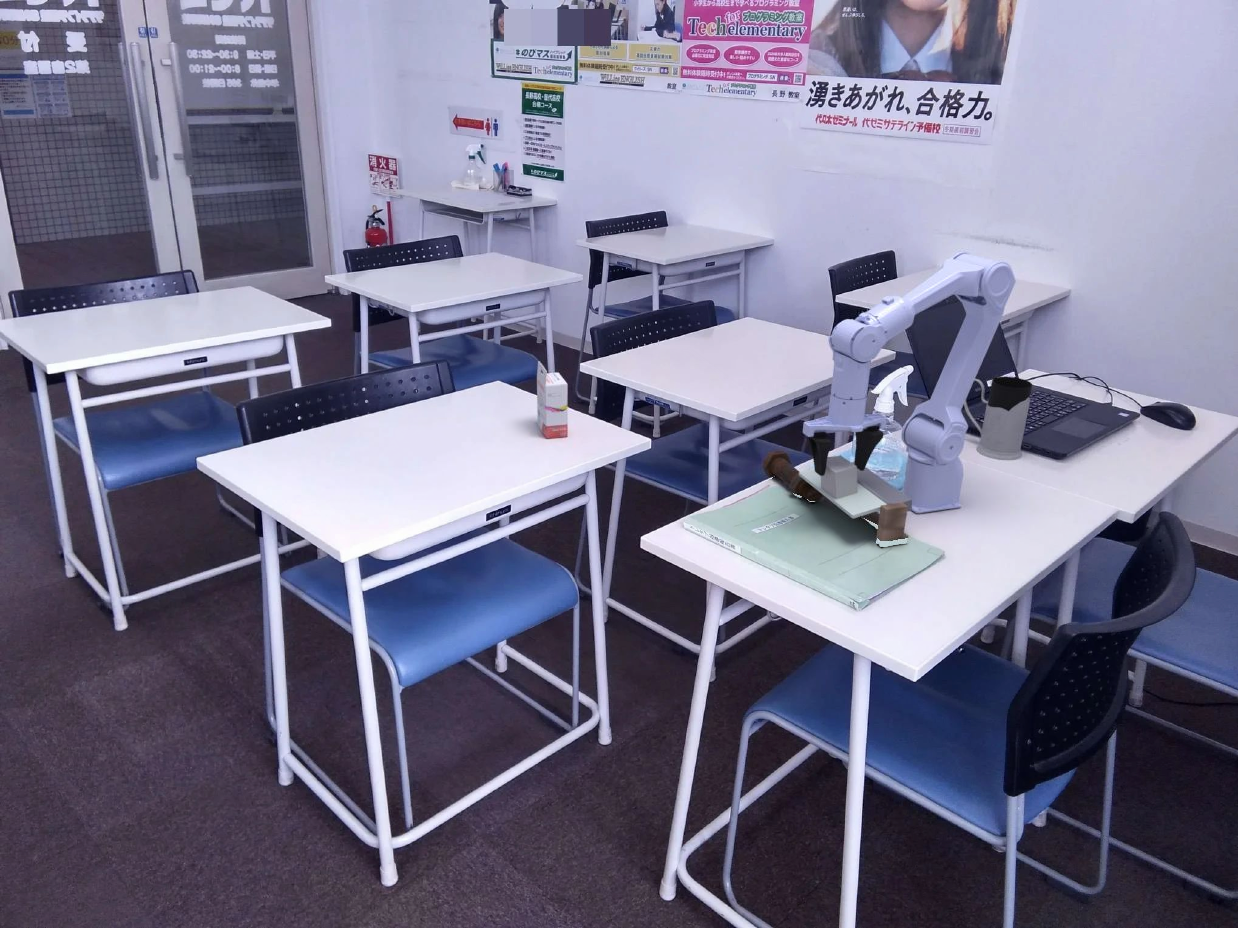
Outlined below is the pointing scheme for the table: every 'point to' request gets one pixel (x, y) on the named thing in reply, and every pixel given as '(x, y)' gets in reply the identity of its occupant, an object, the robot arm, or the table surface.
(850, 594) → the table surface
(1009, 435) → the glass holder
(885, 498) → the trapdoor
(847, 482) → the grey cube
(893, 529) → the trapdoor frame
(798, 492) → the bolt
